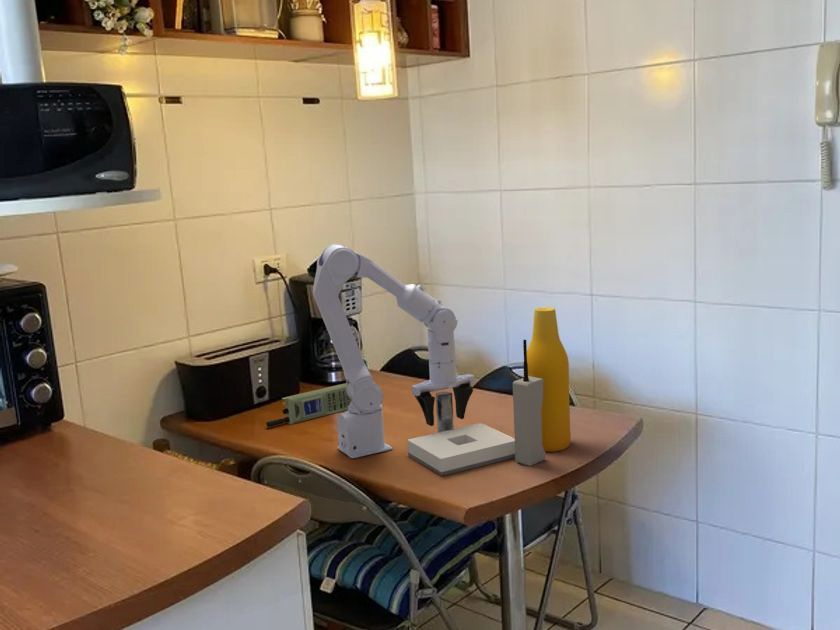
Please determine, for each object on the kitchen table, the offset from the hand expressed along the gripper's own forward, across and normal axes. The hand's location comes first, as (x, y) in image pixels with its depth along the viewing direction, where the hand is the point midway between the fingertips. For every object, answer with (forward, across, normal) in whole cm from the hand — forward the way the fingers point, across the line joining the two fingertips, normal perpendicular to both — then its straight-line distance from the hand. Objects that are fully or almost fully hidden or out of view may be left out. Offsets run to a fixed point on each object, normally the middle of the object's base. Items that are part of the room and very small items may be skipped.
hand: (445, 421), depth 183 cm
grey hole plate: (+4, -3, -12) cm, 13 cm away
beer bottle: (+4, +15, -17) cm, 23 cm away
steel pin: (+4, 0, 0) cm, 4 cm away
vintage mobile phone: (+4, +6, -22) cm, 24 cm away
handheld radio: (+4, -18, +33) cm, 38 cm away
